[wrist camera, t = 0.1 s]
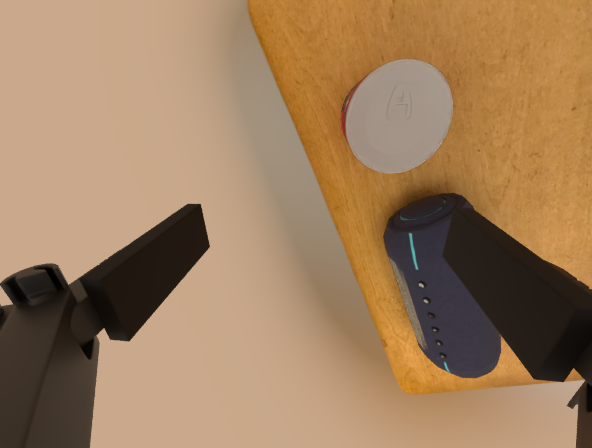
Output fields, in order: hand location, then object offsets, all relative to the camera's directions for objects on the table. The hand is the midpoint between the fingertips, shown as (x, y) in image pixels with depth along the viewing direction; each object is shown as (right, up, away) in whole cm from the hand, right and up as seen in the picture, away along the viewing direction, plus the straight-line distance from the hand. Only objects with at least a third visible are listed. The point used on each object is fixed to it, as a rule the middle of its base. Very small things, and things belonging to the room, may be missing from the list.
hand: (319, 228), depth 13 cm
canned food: (+8, +13, +15) cm, 21 cm away
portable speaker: (+18, -6, +23) cm, 30 cm away
